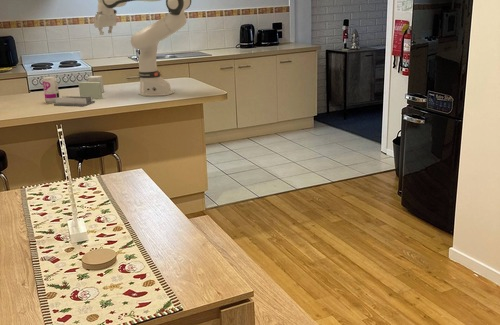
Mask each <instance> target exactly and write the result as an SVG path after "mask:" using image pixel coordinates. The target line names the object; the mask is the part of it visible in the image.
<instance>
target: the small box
mask: <svg viewBox="0 0 500 325" xmlns="http://www.w3.org/2000/svg"><path fill="white" fill-rule="evenodd" d="M103 80H104V78H103V76H102V75H91V76H88V77H87V82H101V88H102V93H104V92H105V88H104V81H103Z"/></svg>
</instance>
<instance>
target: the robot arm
mask: <svg viewBox="0 0 500 325" xmlns="http://www.w3.org/2000/svg"><path fill="white" fill-rule="evenodd" d="M97 1H98V2H97V12H96V13H95V15H94V20H93V21H94V25H93V26H94V28H98V32H99V35H101V36H103V35H104V31H103V28H106V27H108V30H107V34H112V33H113V31H112V30H113V28H114V26H116V25H117V23H118V22H117V21H118V19H117V17H118V16H117V13H118V12H117V10H116V9H114V8H120V7H121V8H122V7H123V6H126V5H127V3H128V2H136V1H137V2H158V1H159V2H160V1H161V0H97ZM165 5H166V8H167V11H168V14H166V15H164V16H163V17H162V18H160V19H158V20H156V21H155V22H153V23H152V24H150V25H148V26H146V27H144V28H142V29H140V30H138V31H137V32H135V33H134V34H132V35H131V37H130V44H131V46H132V47H133V49H136V50H139V51H140V52H139V53H140V54H139V56H138V58H137V60H138V68H139V71H138V78H139V93H138V94H139V95H140V96H142V97H150V96H151V97H153V96H154V97H155V96H160V97H161V96H169V95H173V94H174V93H175V90H173V89H172V88H171V87H172V86H171V83H169V81H167V80H166V79H164V78H163V77H162V76H161V74H162V72H161V71H159V70H158V65H157V64H158V63H157V62H158V61H157V52H158V46H159V43H160V42H161V41H163V40H165V39H167V38H169V37H170V36H172V35H173V34H175V33H177V32H178V31H179V30H181V29H182V28H184V26H185V25H186V23H187V21H188V20H187V16H186V14H185V11H186V10H188V9H189V8H190V7H191V5H192V0H165Z"/></svg>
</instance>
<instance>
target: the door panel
mask: <svg viewBox="0 0 500 325" xmlns="http://www.w3.org/2000/svg"><path fill="white" fill-rule="evenodd" d="M78 90H79V96H92V100H97V99H98V100H101V99H103V97H104V95H103V92H102V88H101V82H88V81H79V82H78Z"/></svg>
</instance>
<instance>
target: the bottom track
mask: <svg viewBox="0 0 500 325" xmlns="http://www.w3.org/2000/svg"><path fill="white" fill-rule="evenodd" d="M55 99H56V103H53V106H56V107H85V106H88V105H91V104H93V103H94V104H95V102H96V101H95V100H93V99H92V96H80V95H62V96H61V97H59V98H55Z"/></svg>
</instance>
